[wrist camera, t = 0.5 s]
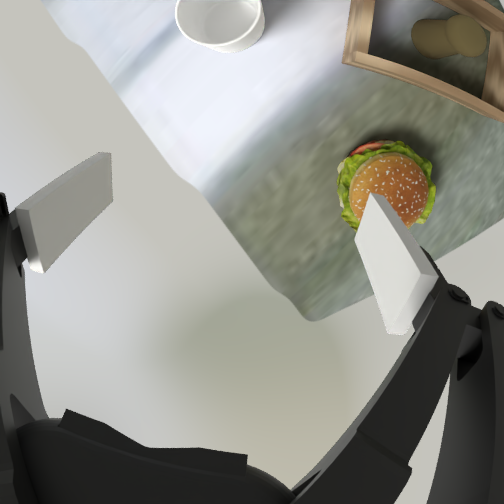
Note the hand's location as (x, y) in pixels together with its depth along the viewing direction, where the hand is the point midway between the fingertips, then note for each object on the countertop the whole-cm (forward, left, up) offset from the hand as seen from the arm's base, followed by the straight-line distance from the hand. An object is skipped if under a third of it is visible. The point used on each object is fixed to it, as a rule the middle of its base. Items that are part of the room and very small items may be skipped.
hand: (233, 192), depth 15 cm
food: (+6, +18, -27) cm, 33 cm away
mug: (-14, -4, -27) cm, 31 cm away
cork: (-17, +21, -27) cm, 38 cm away
